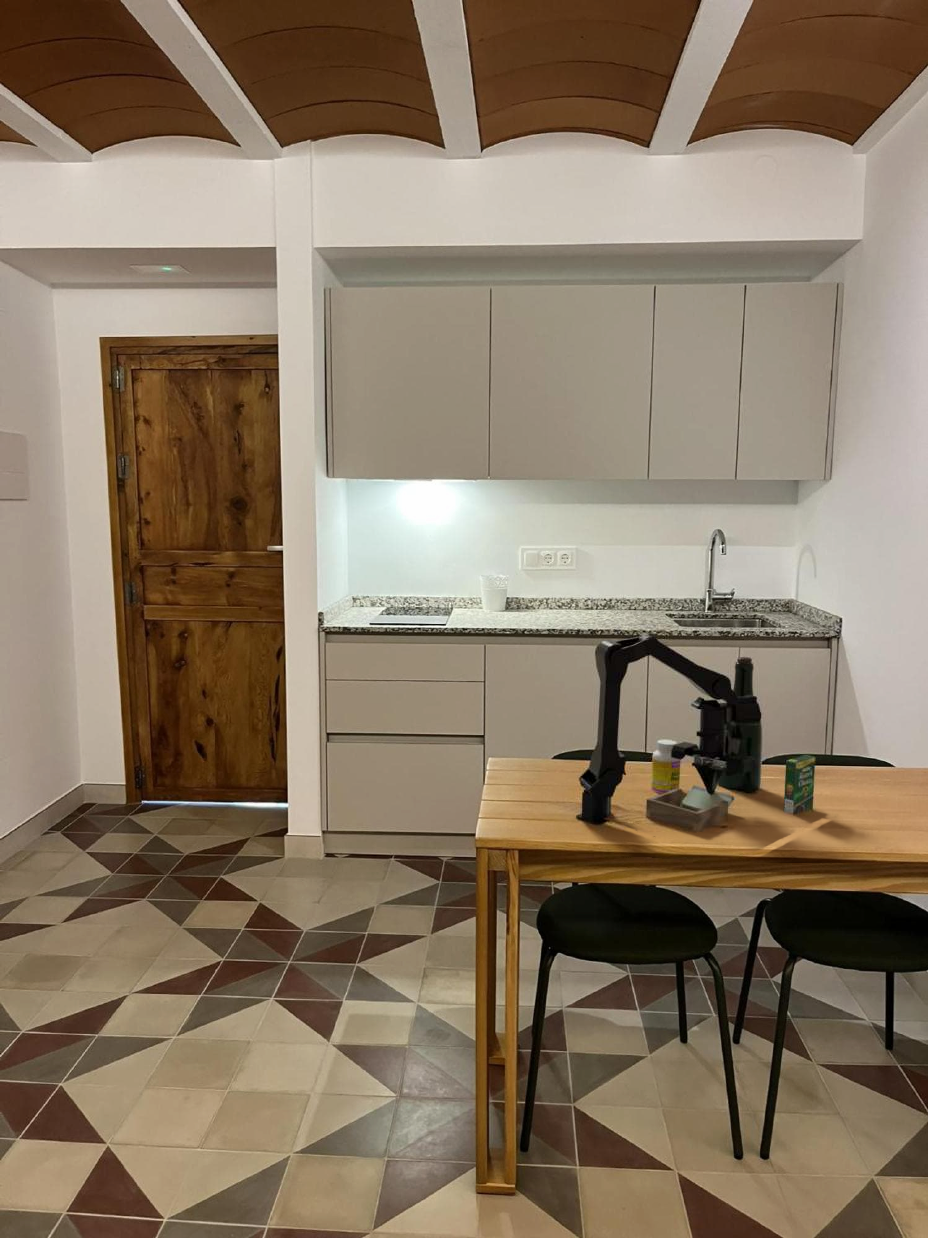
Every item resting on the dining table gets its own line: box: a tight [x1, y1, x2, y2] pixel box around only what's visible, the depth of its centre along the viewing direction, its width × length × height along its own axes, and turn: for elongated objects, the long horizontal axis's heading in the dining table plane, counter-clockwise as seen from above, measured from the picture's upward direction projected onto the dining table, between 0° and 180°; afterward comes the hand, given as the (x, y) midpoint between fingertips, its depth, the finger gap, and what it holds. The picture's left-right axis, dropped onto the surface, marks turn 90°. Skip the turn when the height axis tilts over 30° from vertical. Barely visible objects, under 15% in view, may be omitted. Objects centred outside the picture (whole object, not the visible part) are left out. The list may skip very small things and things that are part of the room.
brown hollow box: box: [645, 787, 729, 833], centre depth 201 cm, size 12×13×5 cm
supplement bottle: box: [650, 739, 681, 794], centre depth 220 cm, size 7×7×13 cm
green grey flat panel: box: [681, 785, 735, 812], centre depth 206 cm, size 1×10×6 cm
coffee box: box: [783, 754, 816, 815], centre depth 206 cm, size 8×3×13 cm, turn 127°
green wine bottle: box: [717, 656, 763, 795], centre depth 224 cm, size 10×10×33 cm
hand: (711, 793), depth 207 cm, fingers closed, pressing on green grey flat panel
